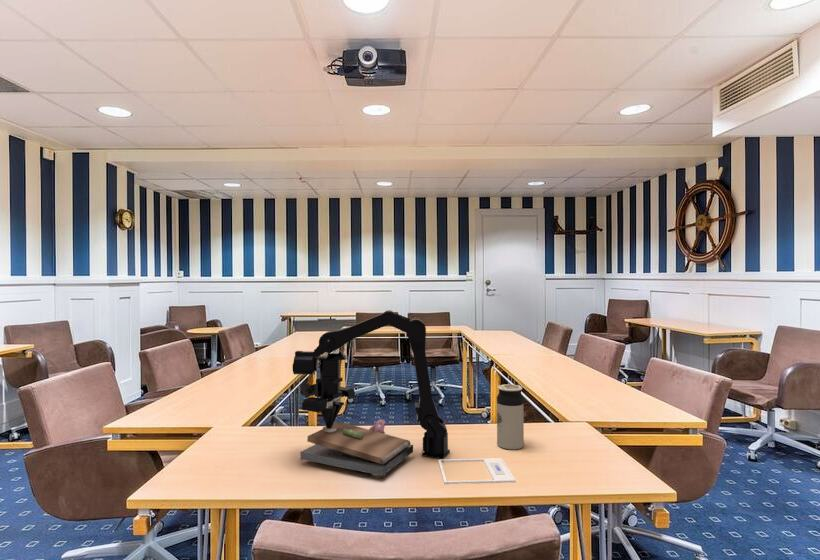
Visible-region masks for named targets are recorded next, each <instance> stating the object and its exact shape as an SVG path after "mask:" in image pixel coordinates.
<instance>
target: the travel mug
mask: <svg viewBox="0 0 820 560" xmlns="http://www.w3.org/2000/svg"><path fill="white" fill-rule="evenodd" d="M497 389H498V394H497V396H496V444H497V446H498V447H500V448H502V449H505V450H519V449H521V448H523V447H524V445H525V444H524V443H525V440H524V439H525V437H524V434H525V433H524V429H525V428H524V423H525V422H524V416H525V415H524V397H523V395H522V390H523V386H521V385H518V384H511V383H510V384H509V383H508V384H504V383H503V384H500V385H497Z"/></svg>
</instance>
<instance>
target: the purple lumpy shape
mask: <svg viewBox="0 0 820 560" xmlns="http://www.w3.org/2000/svg"><path fill="white" fill-rule="evenodd" d="M386 423H387V422H386V421H385V420H384V419H379V420H377V421H376V422H375V423H374V424H373V425H372V426H370V428H369V429H368V430H372V431H376V432H379V433H383V434H386V431H385V426H386Z"/></svg>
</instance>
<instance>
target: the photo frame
mask: <svg viewBox="0 0 820 560" xmlns="http://www.w3.org/2000/svg"><path fill="white" fill-rule="evenodd" d="M437 462H438V467H439V470H441V471H440V474H441V478H442V481H443V484H444V485H458V484H459V483H471V484H498V483H499V484H503V482H504V483H505V482H506V484H507V482H509V483H517V480H516V478H515V477H514V476H513V474H512V472H511V471H510V469H509V467H508V466H507V464H506V463H505V461H504V460H503V458H502V457H501V458H500V457H497V458H496V457H495V458H493V457H491V458H488V457H487V458H460V459H459V458H454V459H451V458H449V459H446V458H445V459H438V460H437ZM442 462H443V463H462V462H463V463H464V462H465V463H466V462H471V463H472V462H483V463H484V465H485V467H486V469H487V471H488V473H489V474H490V477H491V478H492V479H478V480H477V479H475V480H474V479H472V480H470V479H469V480H447V477H446V475H445V471H444V467H443V463H442ZM494 482H495V483H494ZM501 482H502V483H501ZM450 483H451V484H450ZM459 485H460V484H459Z"/></svg>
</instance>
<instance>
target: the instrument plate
mask: <svg viewBox="0 0 820 560" xmlns="http://www.w3.org/2000/svg"><path fill="white" fill-rule="evenodd" d="M306 441H307V442H308V443H311V444H313V445H315V444H317V445H320V446H324V447H327V448H330V449H334V450H337V451H340V452H344V453H347V454H350V455H353V456H357V457H360V458H363V459H367V460H370V461H373V462H376V463H380V464H385V463H386V462H387V461H389V460H390V459H391V458H393V457H394V456H396V455H397V454H398V453H400V452H401V451H402V450H404V449H405V448H406V447H408V446H409V445H411V441H410V440H409V439H405V438H401V437H398V436H394V435H390V434H386V433H385V434H383V433H379V432H376V431H372V430H369V429H368V428H365V427H362V426H357V425H353V424H350V423H345V422H342V421H337V422H334V423H333V426H332V428H330V429H328V428H327V427H326V425H325V426H322V429H320V430H317V431H316V432H313V433H311V434H309V435H307V439H306Z"/></svg>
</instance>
